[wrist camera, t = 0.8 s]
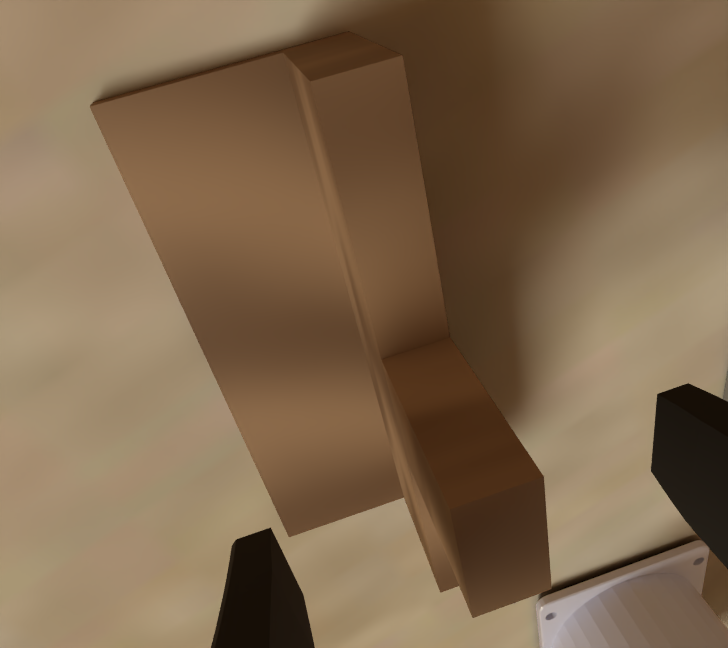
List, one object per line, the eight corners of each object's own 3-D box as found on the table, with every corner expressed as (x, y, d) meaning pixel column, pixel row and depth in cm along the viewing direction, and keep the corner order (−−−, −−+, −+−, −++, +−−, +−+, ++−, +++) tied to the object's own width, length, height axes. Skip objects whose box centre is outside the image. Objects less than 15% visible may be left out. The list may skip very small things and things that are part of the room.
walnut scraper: (440, 470, 20) (561, 724, 14) (286, 523, 20) (331, 812, 13) (346, 30, 13) (517, 107, 6) (93, 101, 12) (-39, 270, 5)
